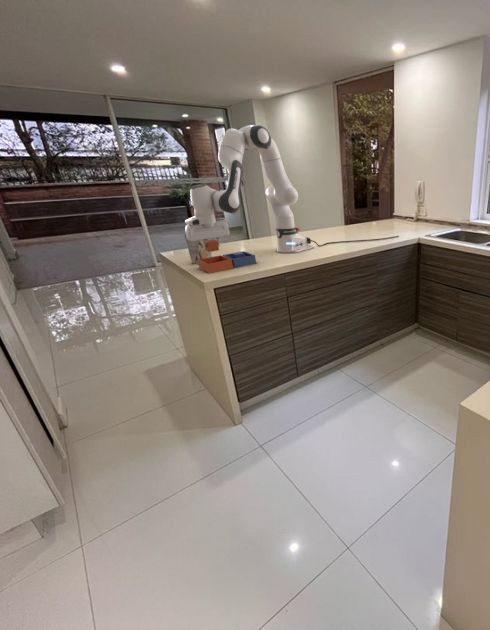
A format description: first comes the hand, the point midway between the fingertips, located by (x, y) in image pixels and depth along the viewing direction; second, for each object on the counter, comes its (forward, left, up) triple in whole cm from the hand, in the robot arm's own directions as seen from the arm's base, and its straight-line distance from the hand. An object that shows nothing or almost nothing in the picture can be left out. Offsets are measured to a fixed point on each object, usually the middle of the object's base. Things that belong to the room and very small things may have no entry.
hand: (211, 247), depth 173 cm
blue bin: (-13, 0, -11) cm, 17 cm away
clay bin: (0, 0, -11) cm, 11 cm away
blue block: (-13, 0, -11) cm, 17 cm away
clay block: (0, 0, -2) cm, 2 cm away
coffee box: (0, -19, -11) cm, 22 cm away
